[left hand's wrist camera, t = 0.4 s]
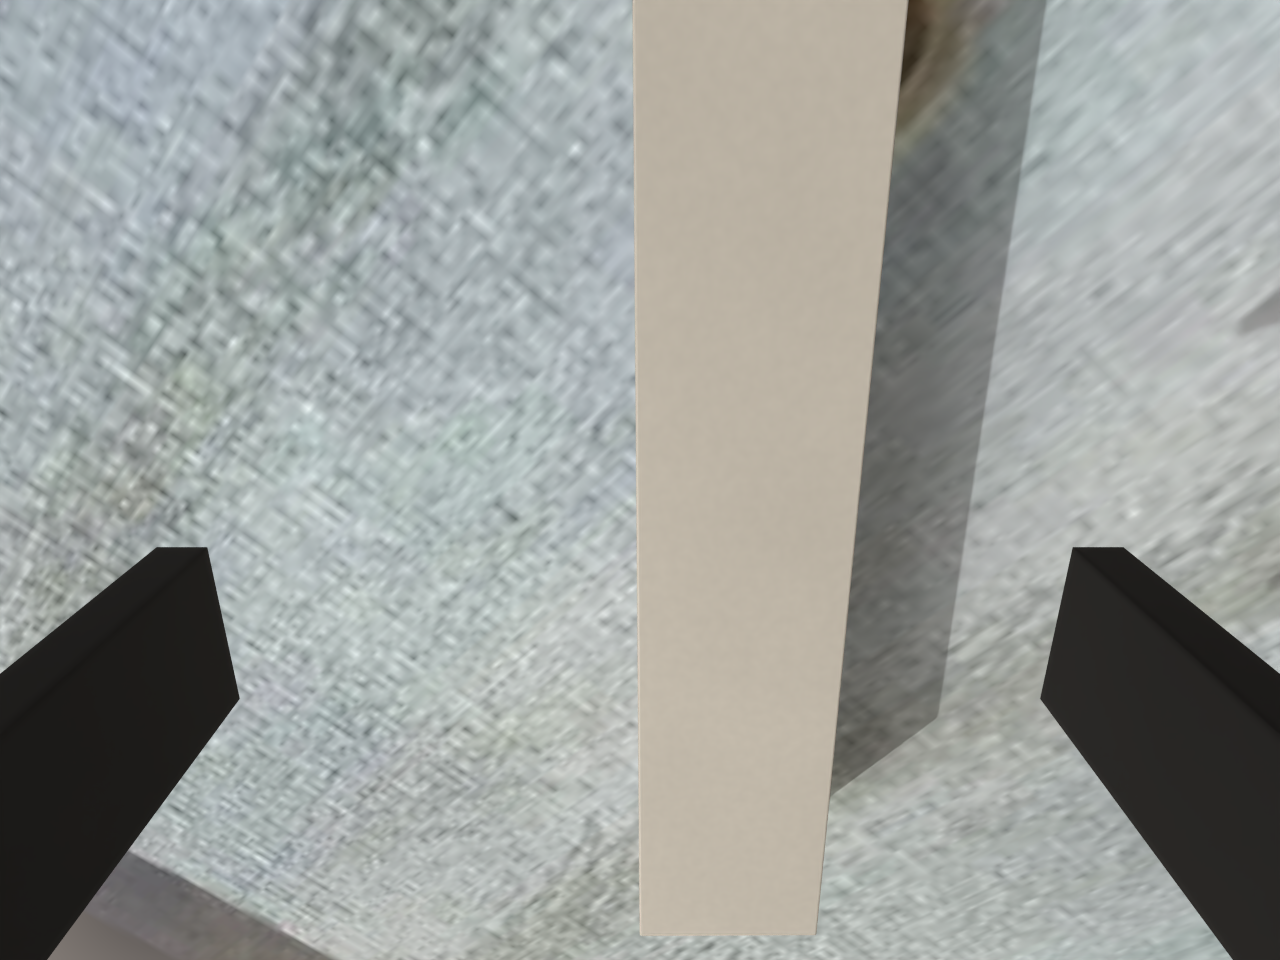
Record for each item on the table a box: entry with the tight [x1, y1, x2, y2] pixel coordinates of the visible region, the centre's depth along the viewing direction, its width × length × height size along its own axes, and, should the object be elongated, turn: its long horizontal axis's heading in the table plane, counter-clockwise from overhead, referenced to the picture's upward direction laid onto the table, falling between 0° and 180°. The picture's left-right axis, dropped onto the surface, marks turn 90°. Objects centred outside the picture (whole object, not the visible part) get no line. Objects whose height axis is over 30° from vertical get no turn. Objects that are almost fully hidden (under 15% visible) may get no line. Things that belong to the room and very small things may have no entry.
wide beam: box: [633, 0, 908, 936], centre depth 33 cm, size 55×9×7 cm, turn 0°
